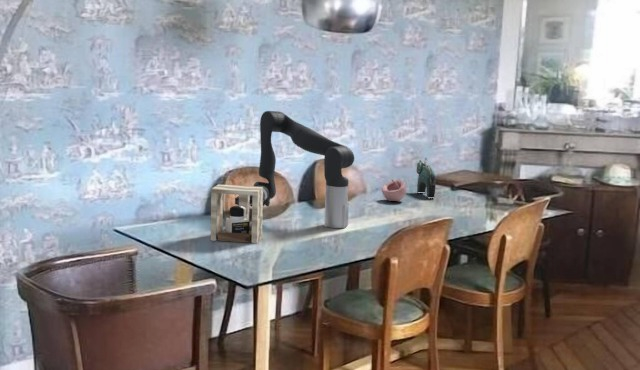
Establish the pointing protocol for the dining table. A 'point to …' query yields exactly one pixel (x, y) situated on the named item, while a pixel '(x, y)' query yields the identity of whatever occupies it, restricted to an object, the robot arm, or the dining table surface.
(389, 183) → the mortar and pestle
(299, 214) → the dining table surface
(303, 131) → the robot arm
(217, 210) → the bridge
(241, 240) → the wooden base display case
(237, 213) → the medicine bottle
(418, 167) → the green elephant figurine
